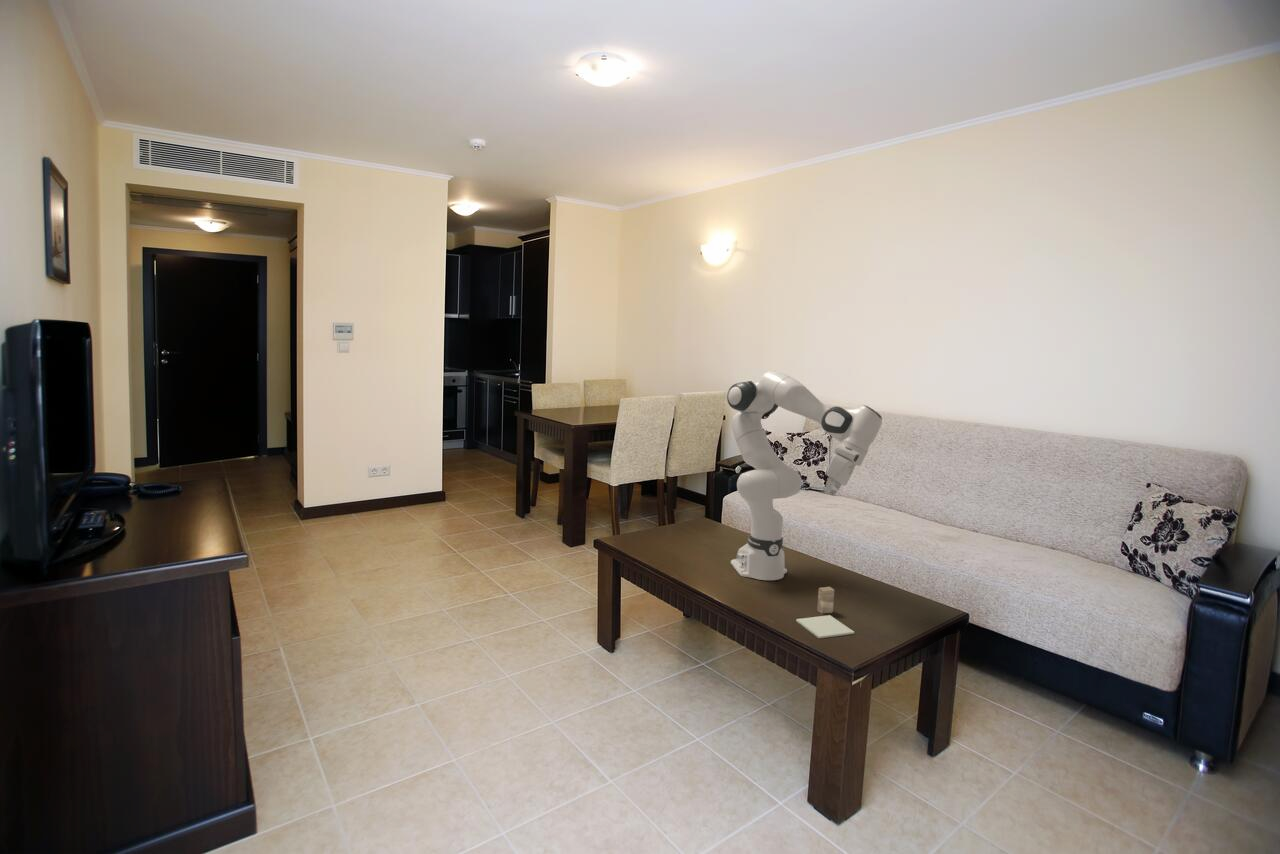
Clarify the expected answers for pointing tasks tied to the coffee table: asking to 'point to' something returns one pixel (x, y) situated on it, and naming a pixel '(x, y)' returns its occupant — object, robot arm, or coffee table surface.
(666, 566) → the coffee table surface
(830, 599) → the card deck block
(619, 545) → the coffee table surface
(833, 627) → the sage mat
